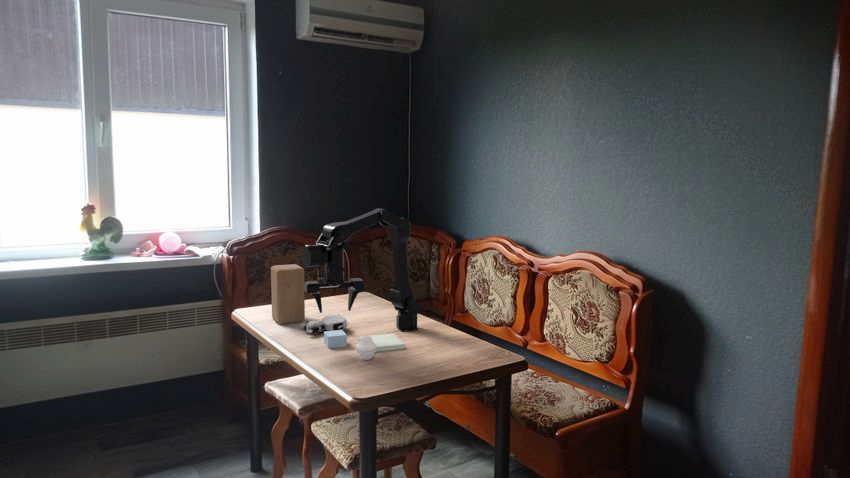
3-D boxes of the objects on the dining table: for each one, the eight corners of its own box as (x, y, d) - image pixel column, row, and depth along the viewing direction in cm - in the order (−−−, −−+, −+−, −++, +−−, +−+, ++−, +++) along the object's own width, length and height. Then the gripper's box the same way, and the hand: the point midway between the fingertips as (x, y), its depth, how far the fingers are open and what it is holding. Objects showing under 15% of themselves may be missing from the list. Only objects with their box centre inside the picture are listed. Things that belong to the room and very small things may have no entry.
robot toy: (308, 341, 209) (351, 333, 215) (307, 328, 208) (350, 320, 214) (300, 331, 220) (341, 324, 226) (299, 319, 219) (340, 312, 225)
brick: (342, 341, 206) (342, 329, 206) (346, 347, 201) (346, 334, 200) (324, 343, 204) (323, 331, 203) (328, 348, 198) (328, 336, 198)
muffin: (376, 354, 193) (376, 332, 192) (377, 361, 187) (377, 338, 186) (355, 355, 192) (355, 333, 191) (356, 361, 186) (355, 338, 185)
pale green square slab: (393, 337, 210) (393, 333, 210) (404, 348, 199) (405, 344, 199) (358, 341, 206) (358, 336, 206) (368, 352, 195) (368, 347, 195)
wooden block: (278, 325, 224) (277, 270, 221) (271, 318, 232) (270, 265, 230) (305, 322, 228) (304, 268, 226) (297, 315, 237) (297, 263, 234)
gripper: (357, 258, 209) (357, 303, 212) (300, 261, 203) (301, 308, 205) (365, 263, 199) (365, 311, 201) (306, 267, 193) (307, 316, 195)
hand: (335, 311), depth 201 cm, fingers open, 9 cm apart
